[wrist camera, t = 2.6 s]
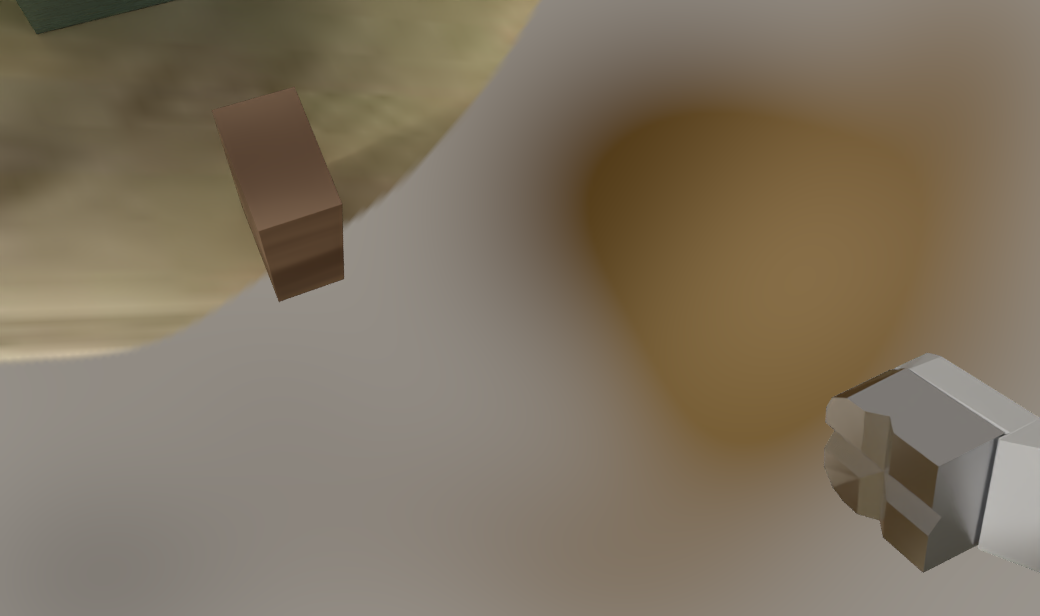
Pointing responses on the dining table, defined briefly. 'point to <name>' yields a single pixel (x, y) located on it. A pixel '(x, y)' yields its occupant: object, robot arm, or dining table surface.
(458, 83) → the dining table surface
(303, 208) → the walnut block
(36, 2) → the blue-gray slotted box
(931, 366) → the robot arm
